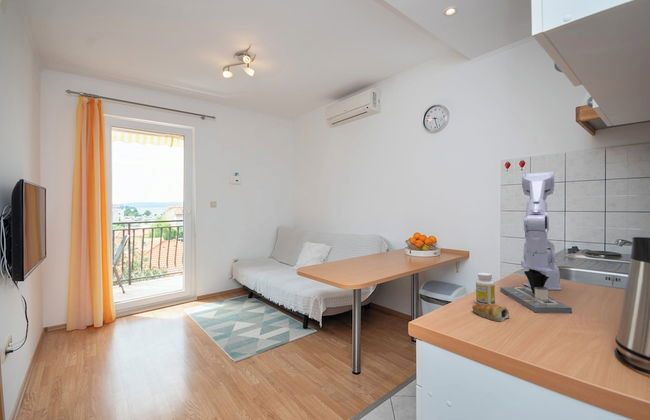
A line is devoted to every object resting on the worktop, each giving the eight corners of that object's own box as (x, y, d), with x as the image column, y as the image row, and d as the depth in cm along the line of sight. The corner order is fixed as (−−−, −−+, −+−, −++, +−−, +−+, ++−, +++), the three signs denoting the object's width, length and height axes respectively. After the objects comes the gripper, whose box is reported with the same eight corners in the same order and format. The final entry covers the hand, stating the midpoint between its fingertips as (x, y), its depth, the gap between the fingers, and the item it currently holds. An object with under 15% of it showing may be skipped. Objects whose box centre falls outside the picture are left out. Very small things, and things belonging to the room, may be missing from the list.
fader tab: (543, 298, 96) (543, 286, 96) (549, 301, 93) (549, 289, 93) (533, 298, 96) (533, 286, 96) (539, 301, 93) (538, 288, 93)
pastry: (467, 314, 90) (467, 301, 90) (479, 309, 94) (479, 297, 94) (500, 323, 83) (499, 309, 83) (511, 318, 86) (511, 305, 86)
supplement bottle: (490, 301, 101) (489, 272, 101) (498, 306, 96) (497, 275, 96) (473, 300, 102) (473, 272, 101) (480, 306, 96) (479, 275, 96)
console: (529, 291, 110) (529, 285, 110) (571, 313, 88) (571, 305, 88) (500, 291, 111) (500, 285, 111) (535, 312, 90) (535, 304, 89)
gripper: (511, 248, 104) (512, 287, 105) (536, 255, 90) (537, 300, 90) (533, 248, 104) (533, 287, 104) (561, 255, 89) (562, 301, 90)
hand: (537, 294), depth 97 cm, fingers closed
